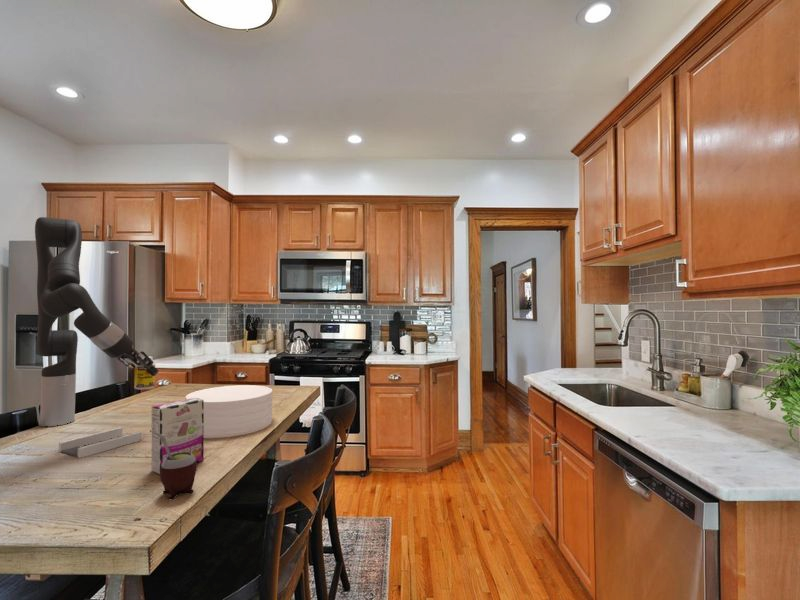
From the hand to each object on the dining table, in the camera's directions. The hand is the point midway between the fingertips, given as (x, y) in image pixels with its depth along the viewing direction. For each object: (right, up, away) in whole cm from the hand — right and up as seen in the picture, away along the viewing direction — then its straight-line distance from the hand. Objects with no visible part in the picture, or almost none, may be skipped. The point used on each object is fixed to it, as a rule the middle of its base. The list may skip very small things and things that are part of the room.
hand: (150, 372), depth 126 cm
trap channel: (-5, -19, -12) cm, 23 cm away
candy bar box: (+25, -19, -28) cm, 42 cm away
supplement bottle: (-1, -5, -2) cm, 5 cm away
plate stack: (+23, -20, +8) cm, 32 cm away
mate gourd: (+34, -18, -43) cm, 58 cm away
